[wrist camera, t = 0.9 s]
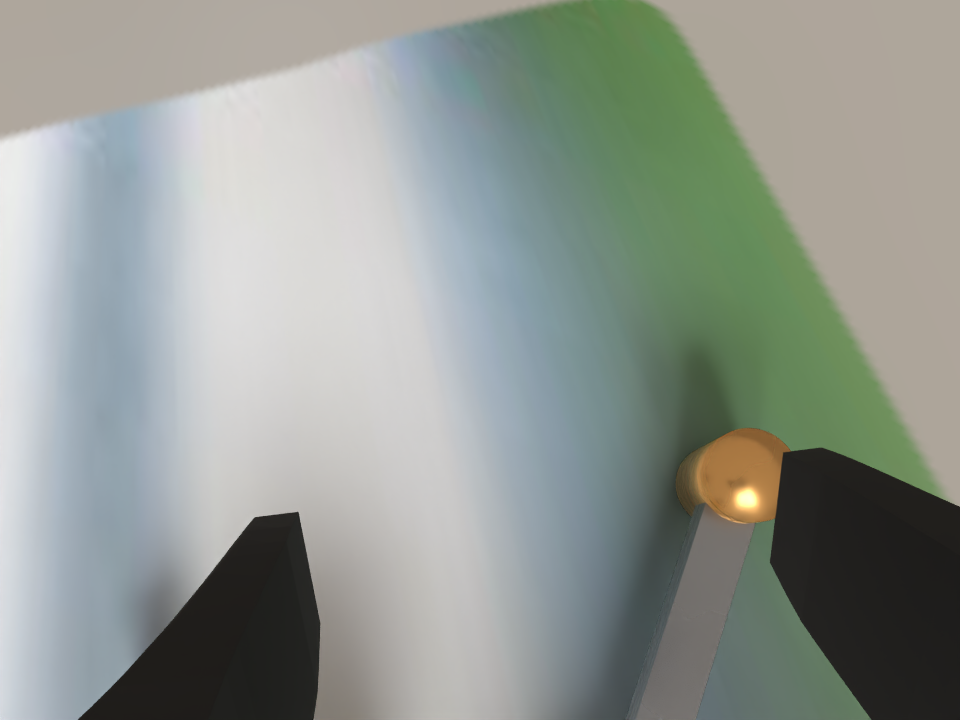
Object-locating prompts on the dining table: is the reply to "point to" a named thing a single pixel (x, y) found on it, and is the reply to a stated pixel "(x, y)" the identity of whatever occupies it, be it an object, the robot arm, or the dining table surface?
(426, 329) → the dining table surface
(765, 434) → the gold-tipped lever
